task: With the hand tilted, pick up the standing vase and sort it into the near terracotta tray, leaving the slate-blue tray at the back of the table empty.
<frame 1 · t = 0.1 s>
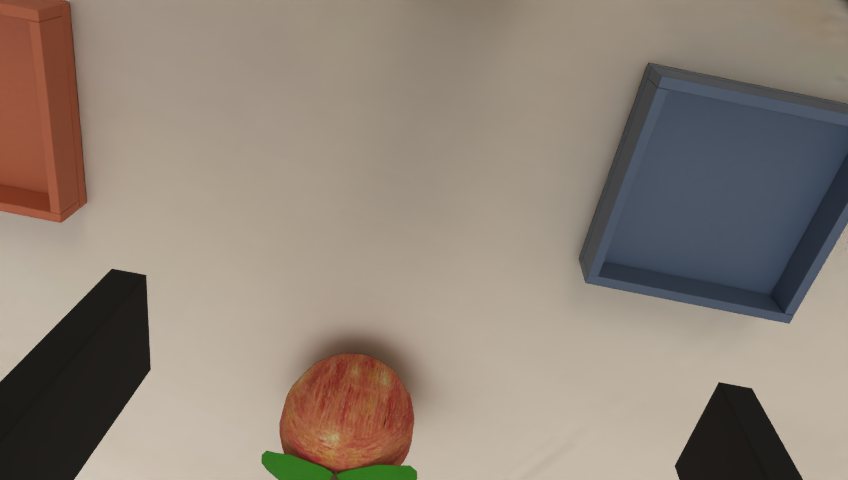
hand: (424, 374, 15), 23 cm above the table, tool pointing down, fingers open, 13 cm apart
slate tray: (714, 189, 36), on the table
fruit: (361, 377, 45), on the table
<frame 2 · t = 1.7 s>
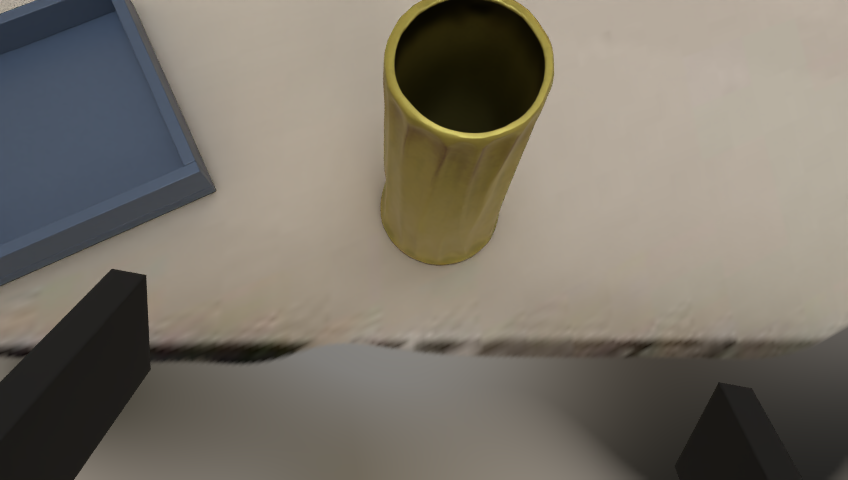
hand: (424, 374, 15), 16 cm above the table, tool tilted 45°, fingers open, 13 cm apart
slate tray: (62, 140, 33), on the table
vase: (439, 209, 33), on the table
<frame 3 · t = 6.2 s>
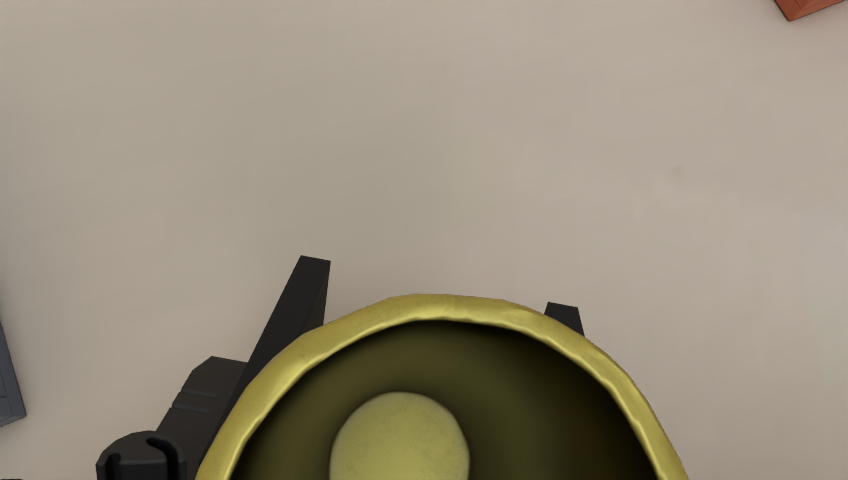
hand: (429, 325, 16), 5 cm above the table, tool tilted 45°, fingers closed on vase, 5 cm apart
vase: (398, 461, 20), on the table, touching gripper
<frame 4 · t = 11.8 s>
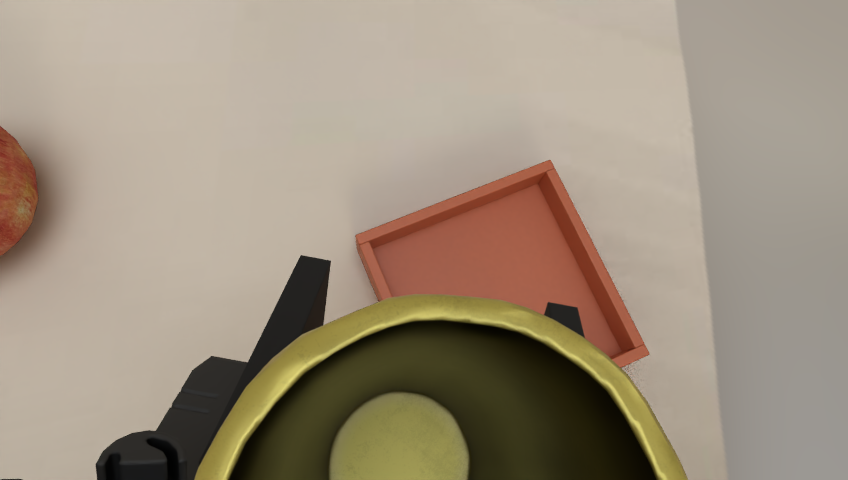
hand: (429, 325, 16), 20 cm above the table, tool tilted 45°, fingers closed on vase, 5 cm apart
vase: (398, 461, 20), point 15 cm above the table, touching gripper
terracotta tray: (492, 303, 37), on the table
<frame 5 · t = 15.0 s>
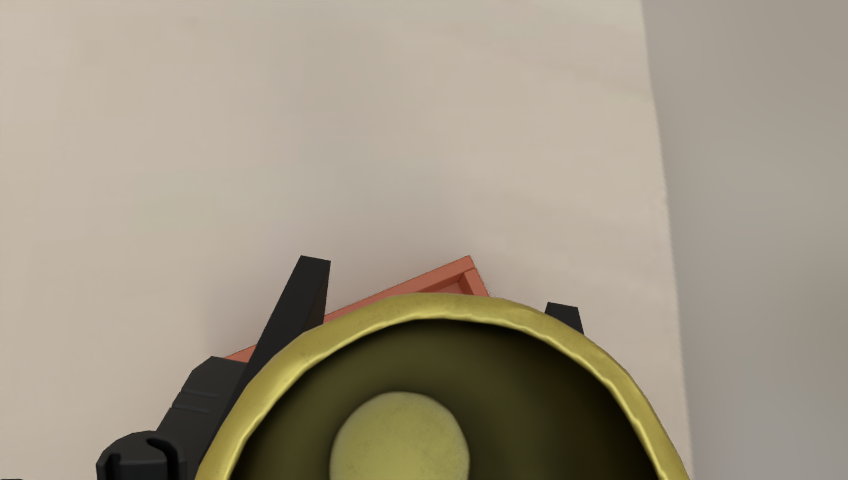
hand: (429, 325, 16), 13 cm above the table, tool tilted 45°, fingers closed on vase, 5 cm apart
vase: (398, 461, 20), point 8 cm above the table, touching gripper
terracotta tray: (393, 449, 27), on the table
when the fingers open (6 cm above the table, at t = 17.3 s): vase stays where it is, resting on terracotta tray.
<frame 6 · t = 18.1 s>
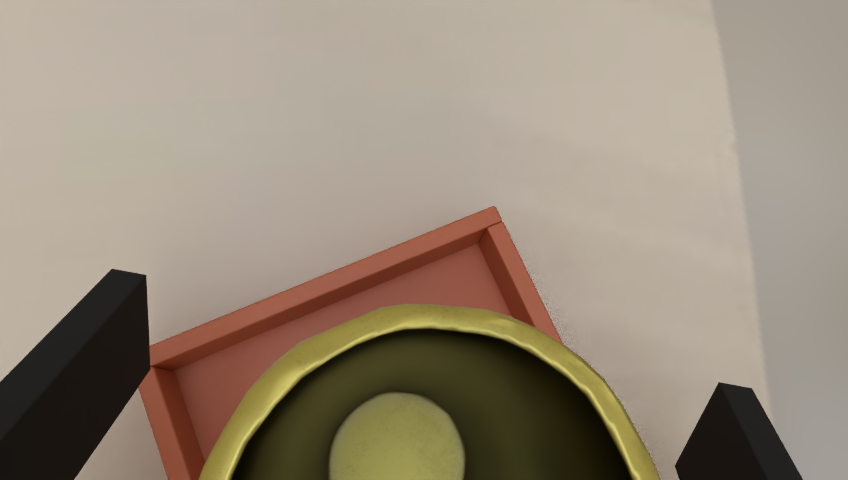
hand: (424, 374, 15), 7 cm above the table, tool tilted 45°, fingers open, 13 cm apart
vase: (396, 460, 20), point 1 cm above the table, touching terracotta tray
terracotta tray: (395, 458, 21), on the table
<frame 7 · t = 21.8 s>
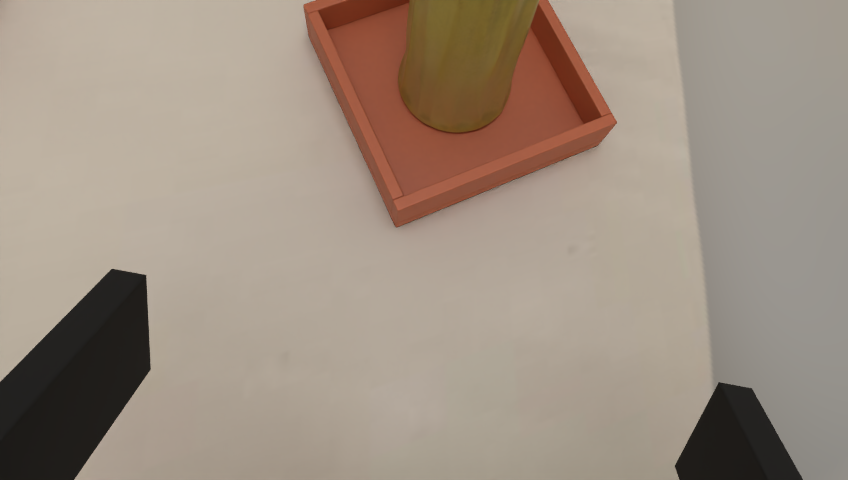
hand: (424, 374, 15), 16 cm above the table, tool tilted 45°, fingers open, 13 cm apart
vase: (453, 84, 34), point 1 cm above the table, touching terracotta tray
terracotta tray: (452, 90, 35), on the table
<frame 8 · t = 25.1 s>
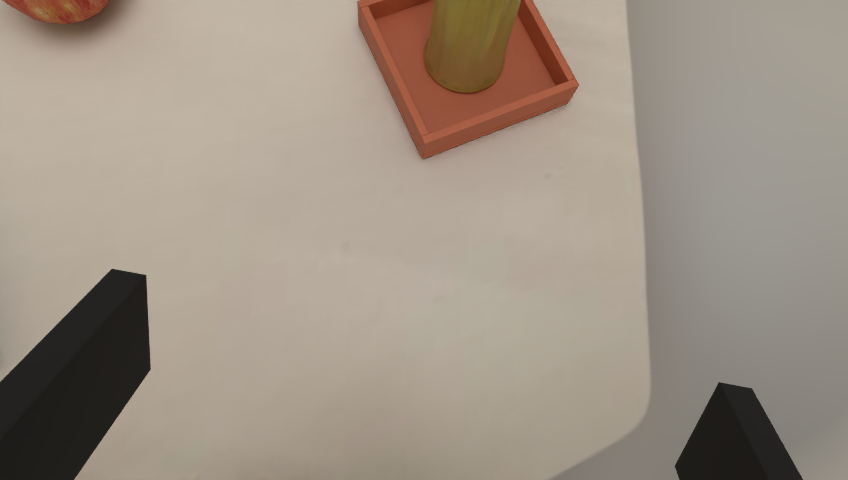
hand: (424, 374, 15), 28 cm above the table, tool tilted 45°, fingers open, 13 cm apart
vase: (463, 59, 48), point 1 cm above the table, touching terracotta tray
terracotta tray: (462, 63, 48), on the table
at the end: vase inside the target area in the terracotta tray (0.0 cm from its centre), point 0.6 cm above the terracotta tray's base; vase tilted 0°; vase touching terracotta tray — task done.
